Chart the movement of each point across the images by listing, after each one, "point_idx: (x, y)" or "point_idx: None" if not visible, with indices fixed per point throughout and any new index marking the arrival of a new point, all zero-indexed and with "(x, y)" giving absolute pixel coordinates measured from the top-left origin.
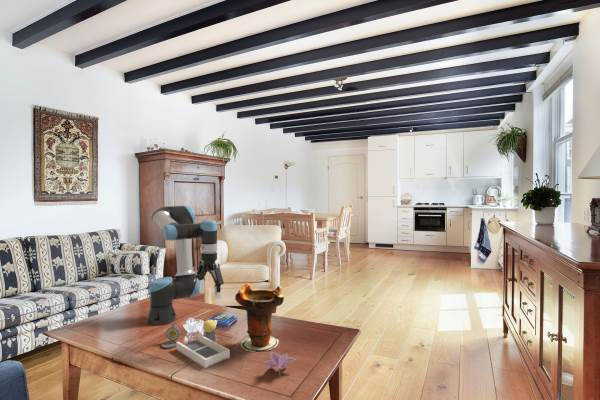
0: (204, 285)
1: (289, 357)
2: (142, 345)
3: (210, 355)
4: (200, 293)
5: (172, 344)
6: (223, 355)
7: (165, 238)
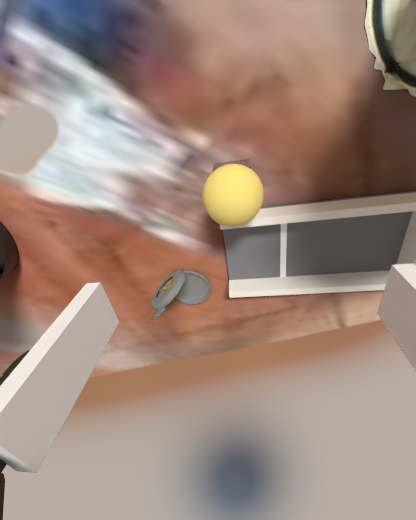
0: (53, 344)
1: None
2: (148, 323)
3: (355, 236)
4: (116, 318)
5: (190, 279)
6: None
7: None
